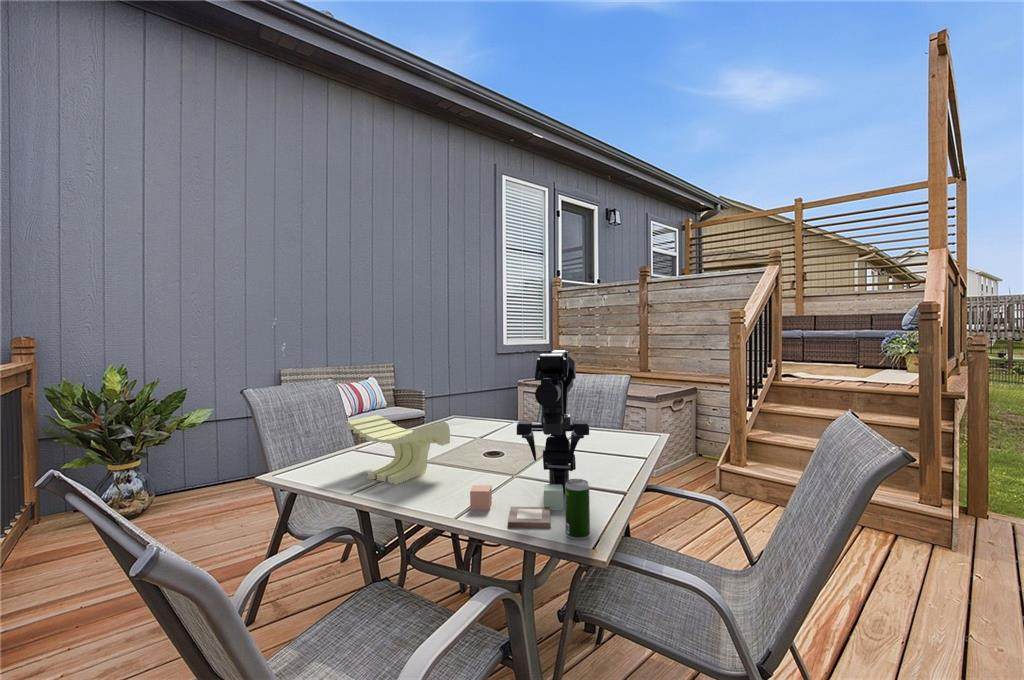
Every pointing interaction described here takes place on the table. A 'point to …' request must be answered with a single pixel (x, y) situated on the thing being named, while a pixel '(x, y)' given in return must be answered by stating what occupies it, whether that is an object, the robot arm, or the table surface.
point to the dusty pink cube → (480, 497)
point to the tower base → (529, 517)
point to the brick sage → (553, 497)
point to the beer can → (577, 509)
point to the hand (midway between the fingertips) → (552, 460)
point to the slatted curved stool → (401, 445)
